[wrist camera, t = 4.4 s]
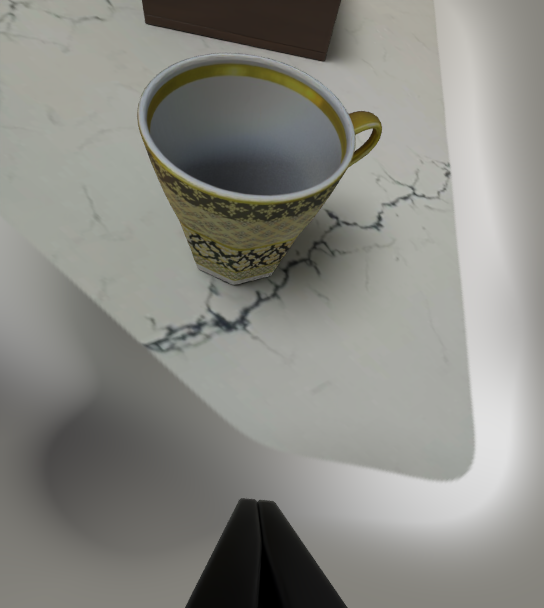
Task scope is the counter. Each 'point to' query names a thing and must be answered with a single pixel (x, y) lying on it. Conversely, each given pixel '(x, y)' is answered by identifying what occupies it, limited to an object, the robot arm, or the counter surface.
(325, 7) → the crate
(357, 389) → the counter surface
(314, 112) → the ceramic cup
